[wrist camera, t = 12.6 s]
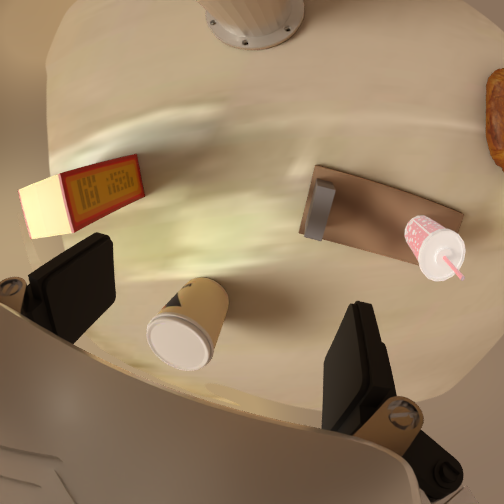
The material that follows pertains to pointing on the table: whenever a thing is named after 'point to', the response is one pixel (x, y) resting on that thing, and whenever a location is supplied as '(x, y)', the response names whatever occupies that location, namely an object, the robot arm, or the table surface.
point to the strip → (367, 214)
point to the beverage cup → (435, 248)
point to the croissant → (495, 116)
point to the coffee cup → (189, 325)
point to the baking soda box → (80, 196)
